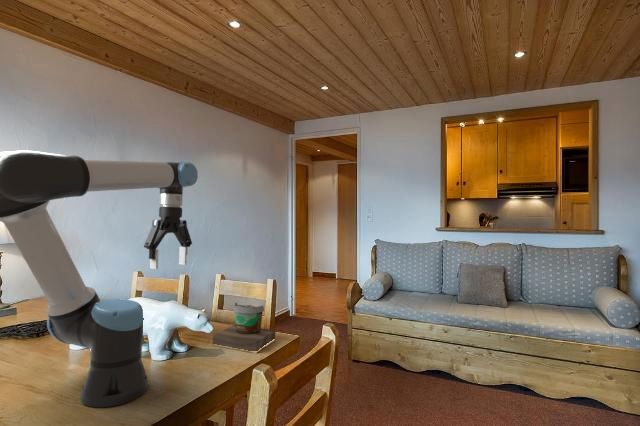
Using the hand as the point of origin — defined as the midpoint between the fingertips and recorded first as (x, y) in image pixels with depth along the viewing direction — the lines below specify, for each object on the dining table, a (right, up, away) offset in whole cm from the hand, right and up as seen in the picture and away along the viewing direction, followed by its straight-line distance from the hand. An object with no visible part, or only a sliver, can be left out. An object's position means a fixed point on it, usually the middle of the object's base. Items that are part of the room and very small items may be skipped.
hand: (168, 266), depth 126 cm
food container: (+25, -26, +6) cm, 37 cm away
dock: (+25, -30, +7) cm, 39 cm away
